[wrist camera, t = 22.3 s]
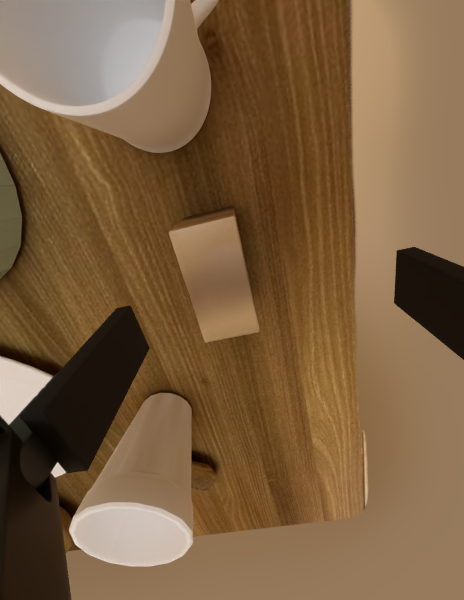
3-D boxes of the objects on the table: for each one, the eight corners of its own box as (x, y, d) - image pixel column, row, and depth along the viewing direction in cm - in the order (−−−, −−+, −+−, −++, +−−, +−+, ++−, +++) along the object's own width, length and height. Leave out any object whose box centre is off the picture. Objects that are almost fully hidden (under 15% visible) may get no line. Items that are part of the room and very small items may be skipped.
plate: (-28, 317, 27) (-47, 327, 25) (133, 403, 32) (127, 416, 30) (-73, 418, 33) (-90, 431, 31) (67, 475, 38) (60, 490, 37)
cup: (222, 401, 32) (217, 531, 20) (182, 444, 36) (157, 577, 24) (150, 365, 30) (97, 488, 18) (114, 415, 33) (50, 546, 21)
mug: (214, -64, 16) (177, -617, 5) (271, 91, 19) (325, -27, 8) (67, 52, 18) (-187, -142, 7) (139, 173, 21) (43, 168, 10)
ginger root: (135, 467, 38) (126, 495, 34) (179, 435, 35) (174, 462, 31) (186, 495, 41) (181, 523, 37) (230, 467, 38) (230, 495, 34)
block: (184, 217, 23) (167, 231, 17) (233, 205, 22) (234, 215, 16) (210, 306, 26) (204, 343, 21) (253, 297, 26) (260, 332, 20)
